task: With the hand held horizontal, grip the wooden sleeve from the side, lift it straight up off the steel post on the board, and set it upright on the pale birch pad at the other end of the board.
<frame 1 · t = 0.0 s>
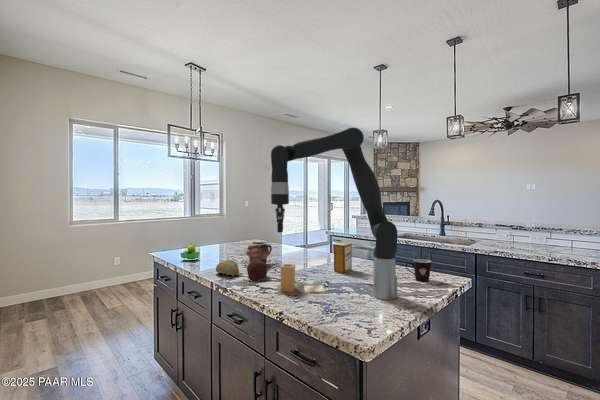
hand: (280, 231, 130), 29 cm above the counter, tool pointing down, fingers open, 8 cm apart
post board: (301, 292, 140), on the counter
muffin: (257, 280, 161), on the counter
sleeve: (288, 289, 139), point 1 cm above the counter, touching post board
reddish brown pitcher: (259, 264, 195), on the counter
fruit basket: (190, 260, 210), on the counter
baking soda box: (342, 271, 178), on the counter
coffee mug: (419, 280, 158), on the counter
bread roll: (227, 275, 172), on the counter
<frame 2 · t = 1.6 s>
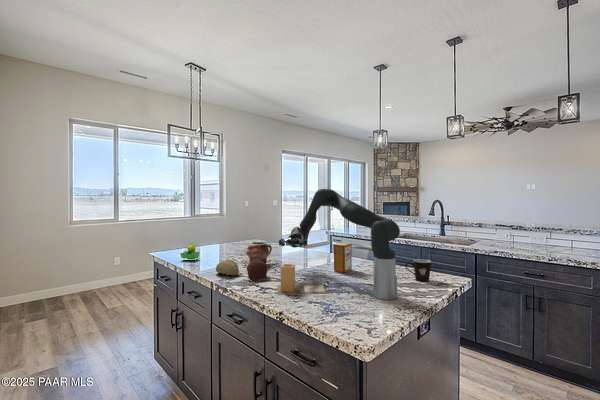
hand: (291, 244, 149), 20 cm above the counter, tool horizontal, fingers open, 8 cm apart
nothing on the counter moved.
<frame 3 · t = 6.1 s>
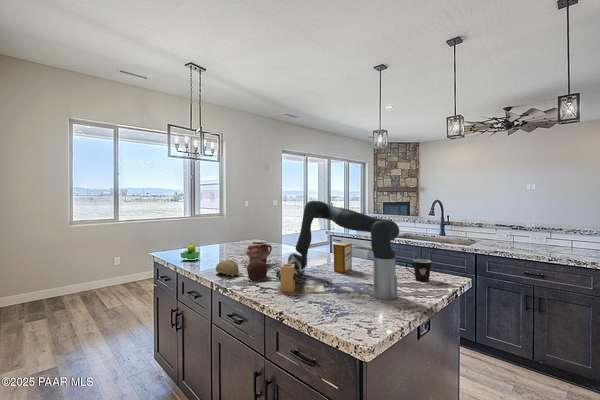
hand: (287, 277, 137), 7 cm above the counter, tool horizontal, fingers closed on sleeve, 5 cm apart
sleeve: (288, 289, 139), point 2 cm above the counter, touching gripper, post board
everything else where it was.
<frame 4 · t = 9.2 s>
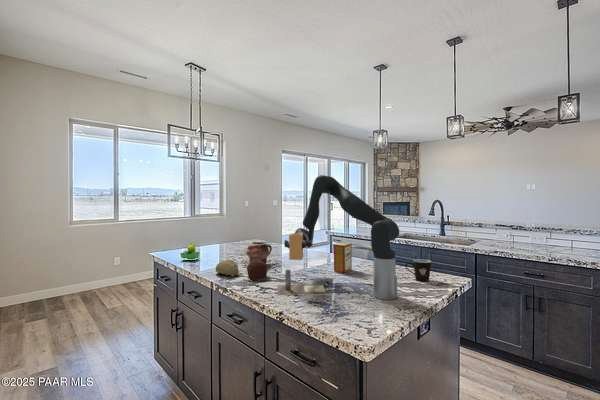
hand: (295, 246, 136), 22 cm above the counter, tool horizontal, fingers closed on sleeve, 5 cm apart
sleeve: (296, 258, 139), point 16 cm above the counter, touching gripper
everything else where it was.
when the fingers open (9 cm above the counter, at t = 12.8 s): sleeve drops 1 cm, resting on post board.
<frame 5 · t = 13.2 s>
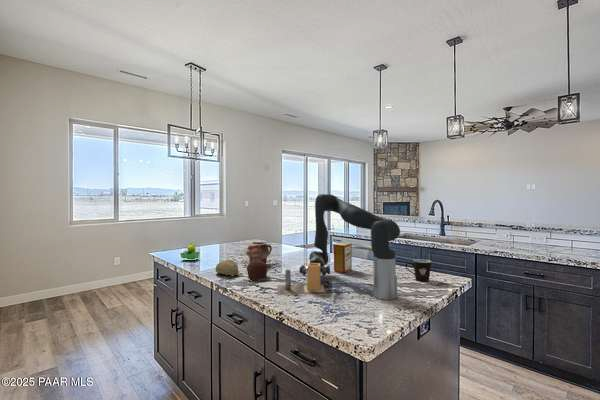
hand: (313, 273, 138), 9 cm above the counter, tool horizontal, fingers open, 8 cm apart
sleeve: (314, 288, 140), point 2 cm above the counter, touching post board
everything else where it was.
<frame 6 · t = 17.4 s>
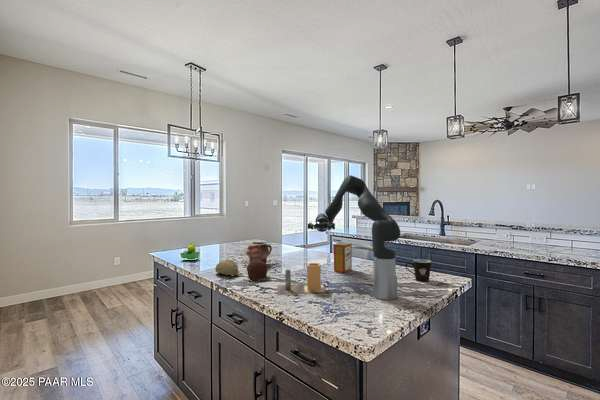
hand: (320, 227, 153), 28 cm above the counter, tool horizontal, fingers open, 8 cm apart
nothing on the counter moved.
at the end: sleeve inside the target area (0.1 cm from its centre), point 1.7 cm above the counter; sleeve tilted 0°; the gripper is holding nothing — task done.
